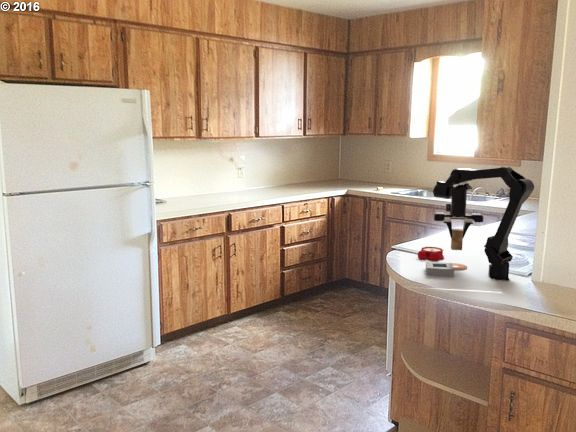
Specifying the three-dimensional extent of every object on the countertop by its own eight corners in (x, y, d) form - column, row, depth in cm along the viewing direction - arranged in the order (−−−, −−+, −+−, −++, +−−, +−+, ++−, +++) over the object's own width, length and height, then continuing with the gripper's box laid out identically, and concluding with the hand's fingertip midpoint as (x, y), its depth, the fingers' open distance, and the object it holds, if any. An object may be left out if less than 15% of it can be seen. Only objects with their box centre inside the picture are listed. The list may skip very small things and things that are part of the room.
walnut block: (460, 248, 216) (461, 228, 215) (462, 250, 212) (463, 230, 211) (450, 247, 217) (451, 228, 216) (451, 249, 213) (452, 230, 212)
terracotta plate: (465, 266, 219) (465, 263, 219) (468, 271, 211) (468, 269, 211) (443, 264, 221) (443, 262, 221) (444, 270, 213) (444, 268, 212)
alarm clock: (447, 248, 236) (439, 247, 223) (445, 262, 236) (438, 262, 223) (424, 245, 241) (415, 244, 228) (422, 259, 241) (413, 259, 228)
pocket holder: (451, 271, 212) (451, 262, 211) (453, 278, 202) (454, 269, 201) (425, 270, 214) (425, 261, 213) (426, 276, 204) (427, 268, 204)
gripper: (480, 197, 217) (478, 235, 220) (433, 196, 221) (432, 233, 224) (484, 201, 206) (482, 240, 209) (435, 200, 210) (433, 238, 213)
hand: (456, 238), depth 214 cm, fingers closed on walnut block, 4 cm apart
